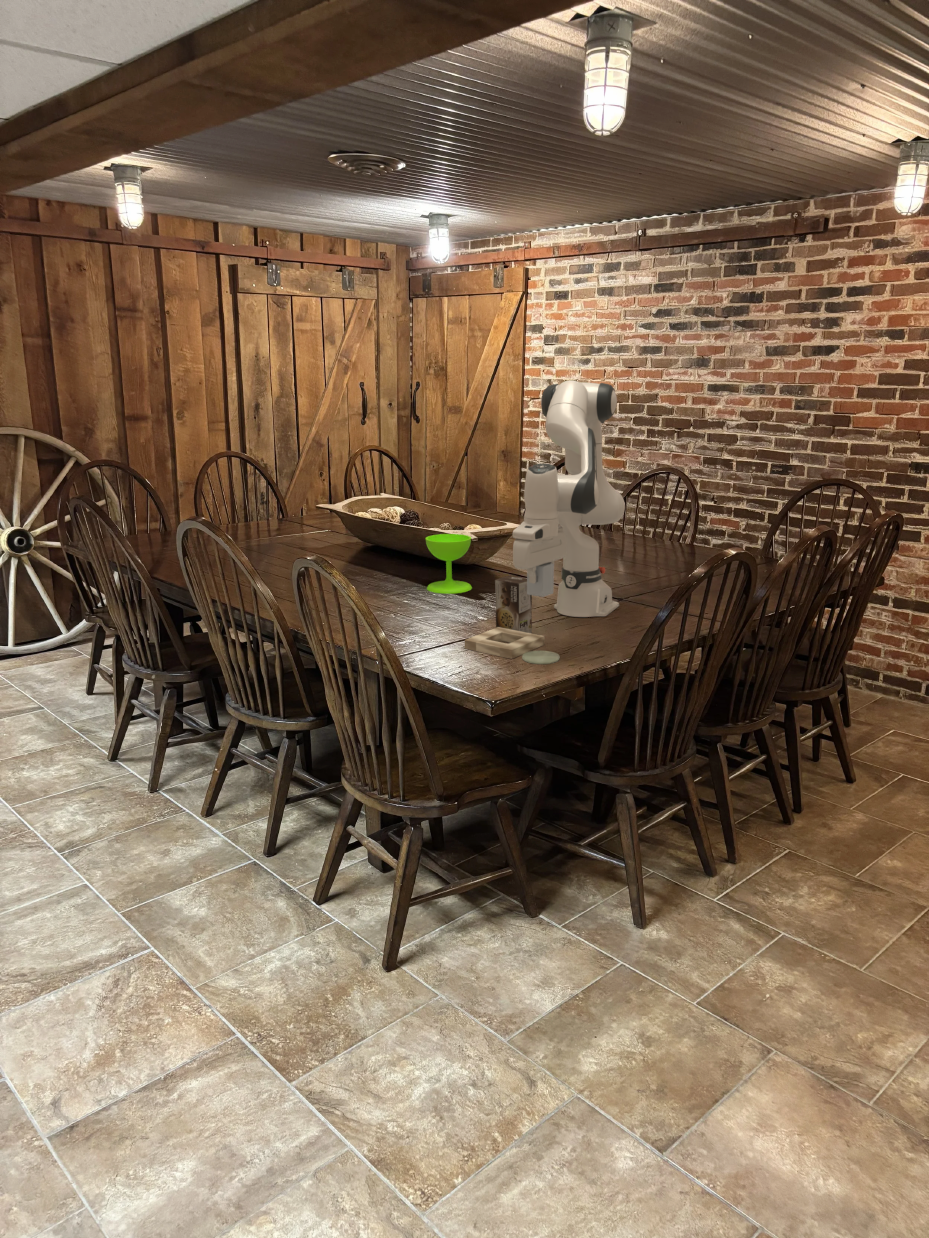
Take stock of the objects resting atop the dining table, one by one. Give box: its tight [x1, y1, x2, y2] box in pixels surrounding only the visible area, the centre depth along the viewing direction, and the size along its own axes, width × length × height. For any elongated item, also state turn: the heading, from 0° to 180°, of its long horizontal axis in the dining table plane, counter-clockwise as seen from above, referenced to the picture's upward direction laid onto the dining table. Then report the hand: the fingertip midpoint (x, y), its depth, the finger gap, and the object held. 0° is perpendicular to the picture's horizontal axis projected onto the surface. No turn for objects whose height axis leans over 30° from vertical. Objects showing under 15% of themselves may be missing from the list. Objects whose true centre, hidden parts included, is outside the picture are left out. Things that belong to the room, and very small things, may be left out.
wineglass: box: [425, 533, 473, 595], centre depth 321 cm, size 16×16×18 cm
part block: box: [526, 563, 555, 598], centre depth 240 cm, size 5×5×8 cm
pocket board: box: [464, 627, 545, 660], centre depth 256 cm, size 16×16×2 cm
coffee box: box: [494, 575, 533, 634], centre depth 267 cm, size 9×6×16 cm
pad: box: [521, 650, 560, 665], centre depth 245 cm, size 10×10×1 cm
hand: (540, 580), depth 240 cm, fingers closed on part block, 5 cm apart
